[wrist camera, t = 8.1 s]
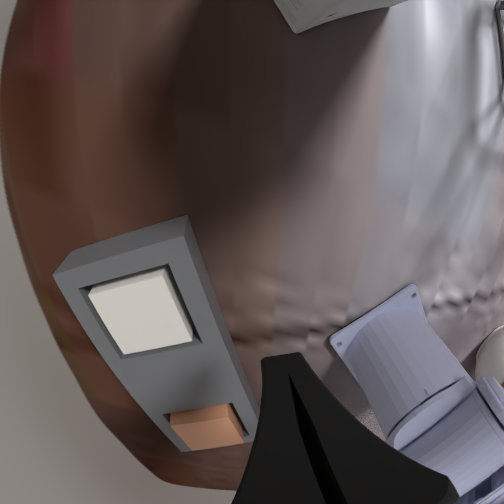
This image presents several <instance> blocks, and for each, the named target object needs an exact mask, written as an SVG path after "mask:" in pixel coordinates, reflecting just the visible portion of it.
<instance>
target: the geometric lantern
mask: <svg viewBox="0 0 504 504" xmlns="http://www.w3.org/2000/svg"><path fill="white" fill-rule="evenodd" d="M500 5H503V6H500ZM495 9H496V14H497V19H498V26H499V32H500V40H501V49H502V59H503V73H504V34H503V27H502V21H501V15H500V10H504V1H500V0H498V1H497V4H496V7H495Z"/></svg>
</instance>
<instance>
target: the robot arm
mask: <svg viewBox="0 0 504 504" xmlns="http://www.w3.org/2000/svg"><path fill="white" fill-rule="evenodd" d="M412 294H413V295H412ZM329 341H330V344H331V345H332V347H333V348H334V349H335V351H336V352H337V354H338V355H339V356H340V358H341V359H342V361H343V362H344V364H345V365H346V366H347V368H348V369H349V371H350V372H351V373H352V375H353V376H354V378H355V379H356V380H357V382H358V383H359V385H360V386H361V388H362V389H363V391H364V393H365V395H366V397H367V399H368V401H369V403H370V406H371V408H372V410H373V412H374V414H375V416H376V418H377V420H378V423H379V425H380V427H381V429H382V431H383V433H384V436H385V438H386V441H385V442H384V441H383V440H381V439H380V438H379V437H377V436H376V435H375V434H374V433H372V432H371V431H370V430H369V429H367V428H366V427H365V426H364V425H363V424H361V423H360V422H359V421H358V420H357V419H356V418H355V417H354V416H353V415H352V414H351V413H350V412H349V411H348V410H347V409H346V408H345V407H344V406H343V405H342V404H341V403H340V402H339V401H338V400H337V399H336V398H335V397H334V396H333V394H332V393H331V392H330V391H329V390H328V389H327V388H326V387H325V385H324V384H323V383H322V382H321V380H320V379H319V378H318V377H317V375H316V374H315V373H314V371H313V370H312V369H311V367H310V366H309V364H308V363H307V362H306V360H305V359H304V357H303V355H302V354H301V353H299V352H296V353H290V354H284V355H278V356H271V357H265V358H263V359H262V360H261V370H262V384H263V387H262V398H261V407H260V414H259V419H258V424H257V429H256V434H255V438H254V442H253V446H252V449H251V453H250V456H249V460H248V463H247V466H246V469H245V471H244V474H243V477H242V480H241V482H240V485H239V487H238V490H237V492H236V495H235V497H234V499H233V501H232V504H504V388H503V387H502V386H501V385H500V384H499V382H498V381H497V380H496V379H495V378H494V377H485V376H482V377H480V378H479V379H478V380H477V381H476V382H475V381H474V380H472V379H471V377H470V376H469V375H468V373H467V372H466V371H465V369H464V368H463V367H462V365H461V364H460V363H459V361H458V360H457V359H456V357H455V356H454V355H453V354H452V352H451V351H450V350H449V348H448V347H447V346H446V345H445V343H444V342H443V341H442V340H441V338H440V337H439V336H438V335H437V333H436V332H435V331H434V330H433V329H432V327H431V326H430V325H429V324H428V323H427V320H426V317H425V313H424V309H423V306H422V302H421V299H420V295H419V292H418V289H417V287H416V285H415V284H410V285H408V286H407V287H405V288H404V289H402V290H401V291H400V292H398V293H397V294H395V295H394V296H392V297H391V298H389V299H388V300H387V301H385V302H384V303H382V304H381V305H379V306H378V307H376V308H375V309H373V310H371V311H370V312H368V313H367V314H365V315H364V316H362V317H361V318H359V319H357V320H356V321H354V322H353V323H351V324H349V325H348V326H346V327H345V328H343V329H341V330H340V331H338V332H336V333H335V334H333V335H332V336H331V337H330V338H329ZM337 343H338V344H337Z"/></svg>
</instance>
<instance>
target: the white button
mask: <svg viewBox="0 0 504 504" xmlns="http://www.w3.org/2000/svg"><path fill="white" fill-rule="evenodd" d="M88 296H89V298H90V300H91V301H92V303H93V305H94V307H95V309H96V310H97V312H98V314H99V315H100V317H101V319H102V321H103V322H104V324H105V326H106V327H107V329H108V330H109V332H110V334H111V335H112V337H113V339H114V340H115V342H116V343H117V345H118V346H119V348H120V349H121V351H122V352H123V354H130V353H135V352H140V351H146V350H151V349H156V348H161V347H166V346H171V345H176V344H181V343H185V342H190V341H192V335H193V320H192V318H191V316H190V313H189V311H188V309H187V307H186V304H185V302H184V300H183V297H182V295H181V293H180V290H179V288H178V285H177V283H176V281H175V278H174V276H173V273H172V271H171V268H170V266H169V263H168V264H165V265H161V266H157V267H154V268H150V269H146V270H143V271H139V272H136V273H132V274H128V275H125V276H121V277H117V278H114V279H110V280H107V281H103V282H99V283H96V284H94V285H93V287H92V289H91V291H90V293H89V295H88Z"/></svg>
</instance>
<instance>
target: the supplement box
mask: <svg viewBox="0 0 504 504" xmlns="http://www.w3.org/2000/svg"><path fill="white" fill-rule="evenodd" d="M404 1H407V0H274V2H275V4H276V5H277V7H278V8H279V10H280V11H281V13H282V14H283V16H284V18H285V20H286V21H287V23H288V24H289V26H290V27H291V29H292V31H293V32H294V33H296V34H298V33H300V32H303V31H305V30H307V29H310V28H312V27H315V26H317V25H320V24H323V23H326V22H328V21H332V20H335V19H338V18H342V17H345V16H349V15H352V14H356V13H360V12H364V11H368V10H373V9H378V8H384V7H390V6H394V5H397V4H399V3H402V2H404Z"/></svg>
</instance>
